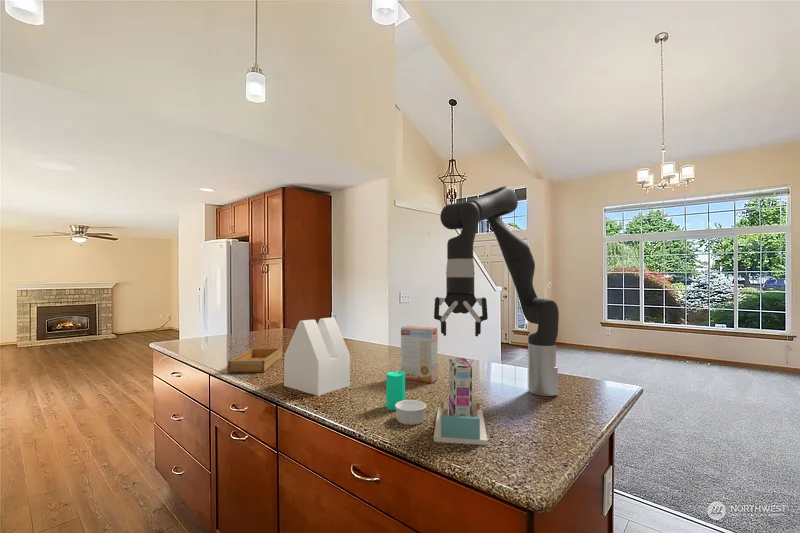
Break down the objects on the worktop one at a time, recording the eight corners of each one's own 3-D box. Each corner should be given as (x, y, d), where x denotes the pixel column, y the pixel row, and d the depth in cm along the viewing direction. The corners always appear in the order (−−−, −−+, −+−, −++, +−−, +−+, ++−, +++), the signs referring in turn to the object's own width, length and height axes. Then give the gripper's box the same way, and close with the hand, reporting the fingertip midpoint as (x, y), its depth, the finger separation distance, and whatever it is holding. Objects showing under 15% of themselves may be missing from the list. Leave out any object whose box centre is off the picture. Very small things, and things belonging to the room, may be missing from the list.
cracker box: (438, 380, 149) (438, 327, 150) (431, 383, 144) (431, 329, 145) (407, 375, 157) (407, 325, 157) (400, 378, 152) (400, 326, 152)
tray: (251, 358, 190) (251, 347, 190) (281, 358, 191) (281, 347, 191) (227, 374, 159) (227, 361, 159) (264, 374, 160) (264, 360, 160)
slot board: (481, 412, 113) (481, 392, 113) (487, 445, 91) (487, 419, 91) (438, 410, 115) (438, 389, 115) (433, 441, 93) (433, 416, 93)
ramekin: (430, 424, 105) (430, 408, 105) (400, 427, 102) (400, 411, 102) (419, 413, 113) (420, 398, 113) (391, 416, 111) (391, 401, 111)
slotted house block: (349, 385, 142) (350, 319, 142) (318, 396, 129) (318, 323, 130) (315, 377, 153) (316, 316, 154) (283, 386, 141) (284, 319, 142)
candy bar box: (473, 430, 97) (472, 366, 98) (453, 430, 97) (453, 366, 98) (465, 414, 108) (465, 357, 109) (448, 414, 108) (448, 357, 109)
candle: (407, 404, 120) (407, 366, 121) (401, 411, 115) (401, 371, 115) (390, 402, 122) (390, 365, 123) (383, 408, 117) (383, 369, 117)
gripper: (485, 276, 105) (486, 334, 105) (434, 276, 107) (435, 333, 107) (488, 275, 98) (488, 338, 97) (433, 275, 100) (433, 337, 99)
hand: (460, 335), depth 102 cm, fingers open, 8 cm apart
